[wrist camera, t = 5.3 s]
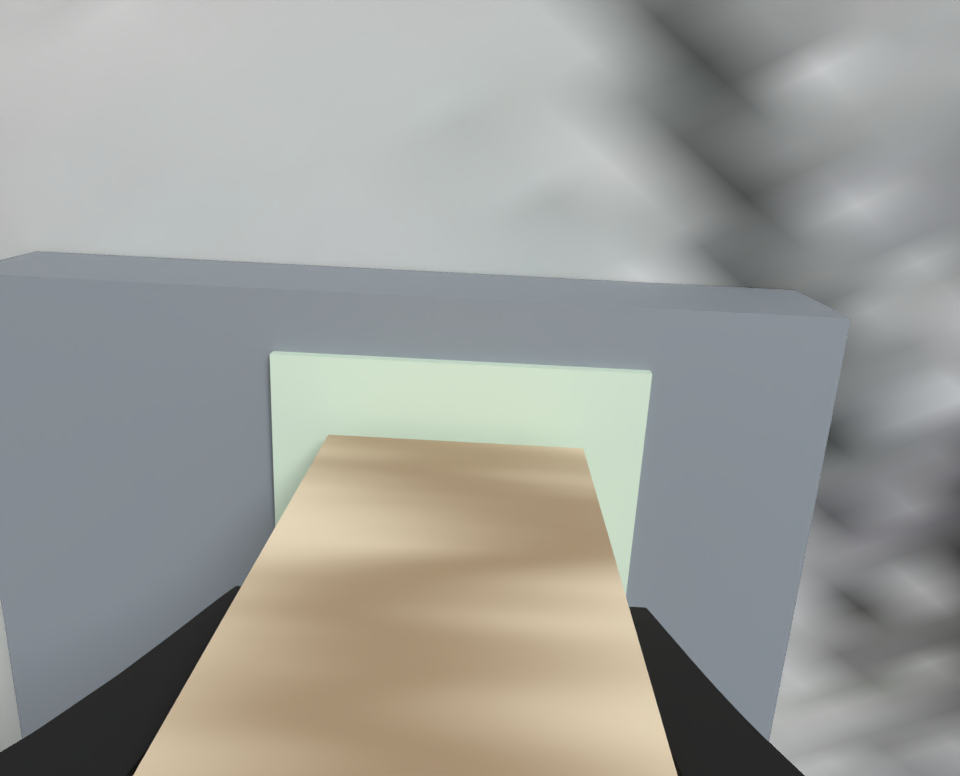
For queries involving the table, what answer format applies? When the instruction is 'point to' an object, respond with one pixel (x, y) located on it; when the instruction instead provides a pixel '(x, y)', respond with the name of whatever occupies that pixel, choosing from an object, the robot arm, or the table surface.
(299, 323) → the pocket board
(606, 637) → the beech block
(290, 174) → the table surface
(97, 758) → the robot arm
